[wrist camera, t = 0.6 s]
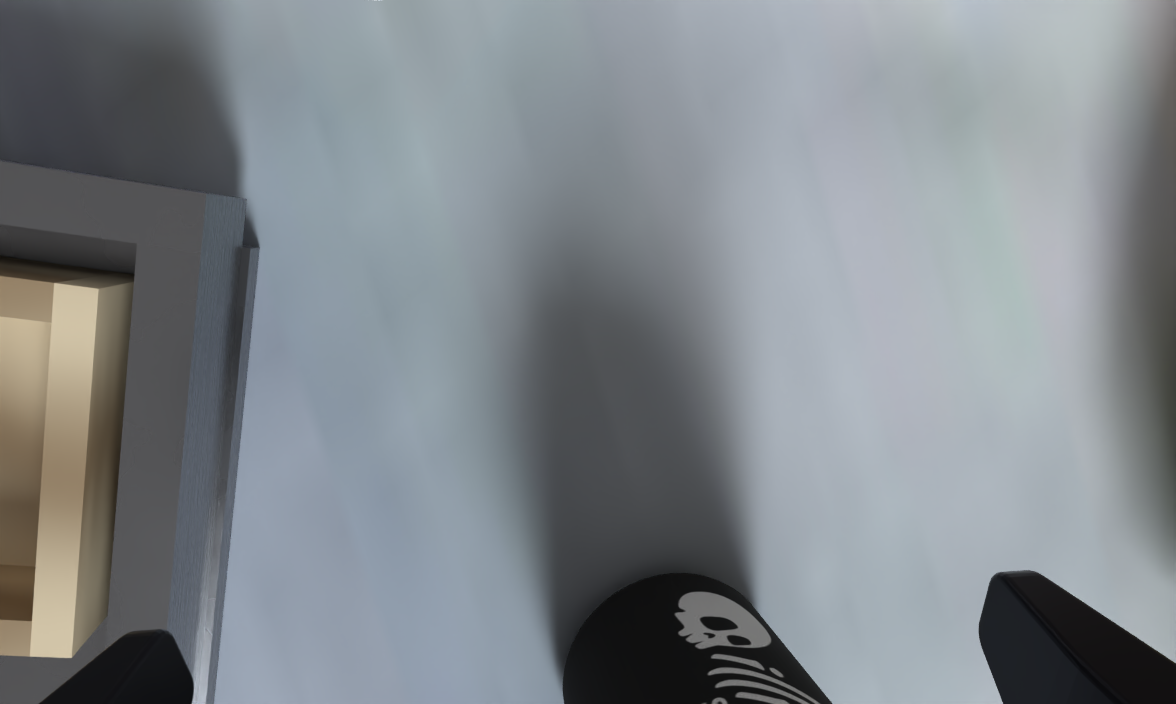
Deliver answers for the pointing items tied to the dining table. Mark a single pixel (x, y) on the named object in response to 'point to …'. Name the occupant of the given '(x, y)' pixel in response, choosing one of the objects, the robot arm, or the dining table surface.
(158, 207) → the bay
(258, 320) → the dining table surface
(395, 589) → the dining table surface
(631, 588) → the beverage can
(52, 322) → the box
